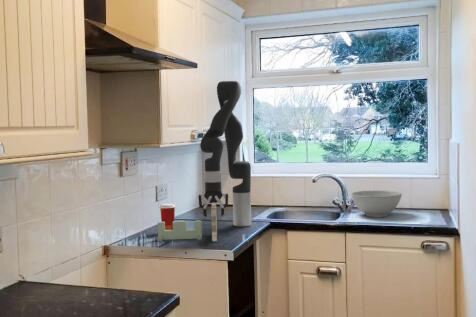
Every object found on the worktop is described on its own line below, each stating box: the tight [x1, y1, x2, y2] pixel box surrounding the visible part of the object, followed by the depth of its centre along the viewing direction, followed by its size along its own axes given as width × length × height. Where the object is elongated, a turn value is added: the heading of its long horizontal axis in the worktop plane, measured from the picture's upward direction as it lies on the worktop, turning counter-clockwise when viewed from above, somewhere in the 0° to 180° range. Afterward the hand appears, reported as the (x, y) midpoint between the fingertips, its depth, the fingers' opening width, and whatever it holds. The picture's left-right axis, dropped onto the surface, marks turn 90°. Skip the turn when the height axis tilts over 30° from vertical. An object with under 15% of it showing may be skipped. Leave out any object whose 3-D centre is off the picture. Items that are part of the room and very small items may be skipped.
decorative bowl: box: [351, 190, 403, 218], centre depth 286 cm, size 27×27×12 cm
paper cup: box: [159, 202, 176, 230], centre depth 254 cm, size 8×8×14 cm
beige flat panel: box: [210, 202, 218, 242], centre depth 240 cm, size 16×2×15 cm, turn 2°
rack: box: [156, 220, 203, 242], centre depth 240 cm, size 8×20×8 cm, turn 92°
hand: (214, 216), depth 240 cm, fingers open, 7 cm apart
